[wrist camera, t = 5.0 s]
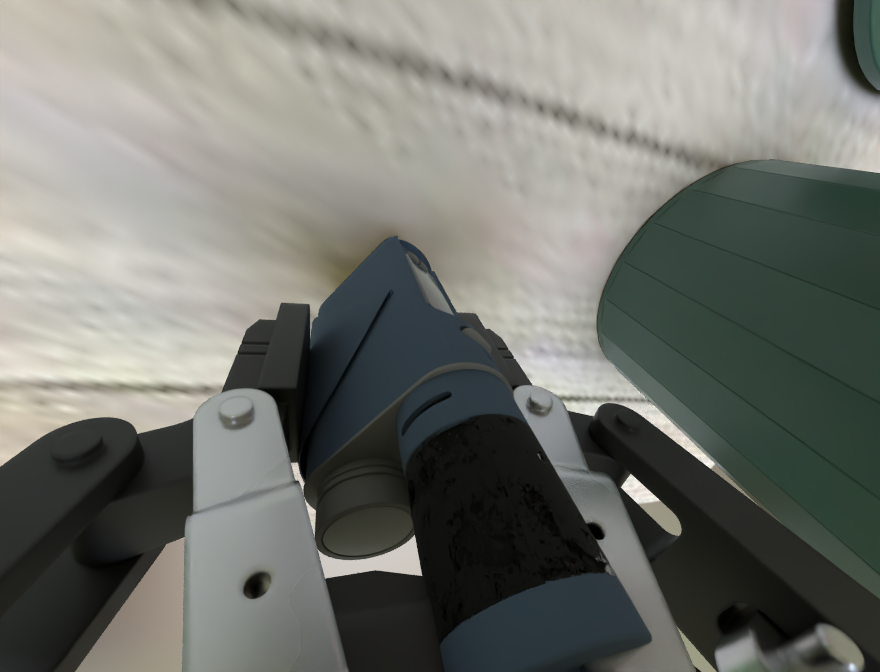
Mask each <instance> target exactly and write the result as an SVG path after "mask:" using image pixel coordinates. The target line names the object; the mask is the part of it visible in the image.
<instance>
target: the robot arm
mask: <svg viewBox="0 0 880 672" xmlns="http://www.w3.org/2000/svg"><path fill="white" fill-rule="evenodd" d="M457 314H458V316H459V317H460V318H461V319H463V320H465V321H466V322H468V323H469V324H470V325H472V326H473V327H474V329H475V330H476V331H477V332H478V333H479V334H480V335H481V336H482V337H483V338H484V339H485V340H486V341H487V343H488V344H489V345H490V347H491V353H490V354H491V356H492V358H493V359H494V361H495V363H496V364H497V366H498V368H499V369H500V371H501V373H502V374H503V376H504V377H505V378H506V379H507V380H508V382H509V384H510V385H511V387H512V390H513V393H514V400H515V401H516V403H517V405H518V407H519V408H520V410H521V412H522V413H523V415H524V417H525V419H526V420H527V422H528V424H529V425H530V427H531V429H532V431H533V432H534V434H535V436H536V438H537V439H538V441H539V443H540V444H541V446H542V448H543V450H544V451H545V453H546V455H547V456H548V458H549V460H550V462H551V463H552V465H553V467H554V468H555V470H556V472H557V474H558V475H559V477H560V479H561V480H562V482H563V484H564V486H565V487H566V489H567V491H568V492H569V494H570V496H571V498H572V499H573V501H574V503H575V504H576V506H577V508H578V510H579V511H580V513H581V515H582V516H583V518H584V521H585V522H586V523H587V525H588V527H589V528H590V530H591V532H592V534H593V535H594V537H595V539H596V540H597V541H596V540H595V539H594V538H593V537H591V538H593V539H592V540H593V541H595V542H598V543H597V544H598V545H599V547H601V549H602V551H603V552H604V554H605V556H606V558H607V559H608V561H609V562H608V563H610V564H611V565H609V564H608V563H606V560H605V559H604V558H605V557H604V558H603V557H602V555H601V553H600V552H602V551H600V552H599V550H598V552H599V554H600V555H599V554H598V555H599V556H598V557H599V558H597V556H595V554H594V556H595V559H596V560H597V561H598V560H599V561H598V563H600V564H599V565H600V567H601V568H602V570H603V572H604V573H606V574H607V572H609V574H610V575H612V572H613V573H616V575H615V574H613V576H614V575H615V577H616V576H617V577H618V579H619V580H620V582H621V583H622V585H623V587H624V588H625V590H626V592H627V594H628V595H629V597H630V599H631V600H632V602H633V604H634V606H635V607H636V609H637V611H638V612H639V614H640V616H641V618H642V619H643V621H644V623H645V625H646V626H647V628H648V630H649V631H650V633H651V636H652V641H651V642H650V643H647V644H644V645H641V646H638V647H634V648H631V649H628V650H625V651H622V652H619V653H615V654H612V655H609V656H606V657H603V658H599V659H596V660H593V661H590V662H587V663H584V664H583V665H582V666H580V667H579V668H580V672H701V671H700V670H698V669H697V668H696V667H695V666H694V665H693V664H692V661H691V659H690V656H689V654H688V652H687V650H686V647H685V645H684V642H683V640H682V638H681V635H680V633H679V631H678V628H679V629H680V630H681V631H682V633H684V635H685V636H686V637H687V638H688V639H689V641H690V642H691V643H692V644H693V645H694V646H695V647H696V649H697V650H698V651H699V652H700V653H701V654H702V655H703V656H704V658H705V659H706V660H707V661H708V662H709V663H710V664H711V665H712V667H713V668H714V669H715V670H716V671H717V672H880V599H879V598H877V597H876V596H875V595H874V594H872V593H871V592H870V591H868V590H867V589H866V588H864V587H863V586H862V585H861V584H859V583H858V582H857V581H855V580H854V579H853V578H851V577H850V576H849V575H848V574H846V573H845V572H844V571H842V570H841V569H840V568H838V567H837V566H836V565H835V564H833V563H832V562H831V561H829V560H828V559H827V558H825V557H824V556H823V555H822V554H820V553H819V552H818V551H816V550H815V549H814V548H812V547H811V546H810V545H809V544H807V543H806V542H805V541H803V540H802V539H801V538H799V537H798V536H797V535H796V534H794V533H793V532H792V531H790V530H789V529H788V528H786V527H785V526H784V525H783V524H781V523H780V522H779V521H777V520H776V519H775V518H773V517H772V516H771V515H770V514H768V513H767V512H766V511H764V510H763V509H762V508H760V507H759V506H758V505H756V504H755V503H754V502H753V501H751V500H750V499H749V498H747V497H746V496H745V495H744V494H742V493H741V492H740V491H738V490H737V489H736V488H734V487H733V486H732V485H731V484H729V483H728V482H727V481H725V480H724V479H723V478H721V477H720V476H719V475H718V474H716V473H715V472H714V471H712V470H711V469H710V468H709V467H707V466H706V465H705V464H703V463H702V462H701V461H699V460H698V459H697V458H696V457H694V456H693V455H692V454H690V453H689V452H688V451H686V450H685V449H684V448H683V447H681V446H680V445H679V444H677V443H676V442H675V441H673V440H672V439H671V438H670V437H668V436H667V435H666V434H664V433H663V432H662V431H660V430H659V429H658V428H657V427H655V426H654V425H653V424H651V423H650V422H649V421H647V420H646V419H645V418H644V417H642V416H641V415H639V414H638V413H637V412H635V411H633V410H631V409H629V408H627V407H625V406H622V405H619V404H614V403H606V404H603V405H601V406H600V407H599V408H598V410H597V412H596V413H595V415H594V417H593V416H589V415H584V414H580V413H575V412H571V411H567V409H566V407H565V405H564V403H563V402H562V401H561V400H560V399H559V398H558V397H557V396H556V395H555V394H553V393H552V392H550V391H548V390H546V389H544V388H541V387H538V386H533V385H532V384H531V382H530V381H529V379H528V378H527V376H526V375H525V373H524V372H523V370H522V368H521V367H520V365H519V364H518V362H517V361H516V359H514V356H513V355H512V353H511V352H510V350H508V347H507V346H506V344H505V343H504V341H503V340H502V338H501V337H499V336H498V335H497V334H495V333H494V332H493V331H492V330H490V329H485V328H484V326H483V325H482V323H481V321H480V320H479V318H478V316H477V315H476V314H474V313H457ZM309 357H310V305H309V304H295V303H281V305H280V308H279V312H278V315H277V319H276V320H258V321H257V322H256V323H254V324H253V325H252V326H251V327H249V328H248V329H247V330H246V333H245V335H244V338H243V340H242V344H241V345H240V347H239V350H238V355H236V357H235V360H234V362H233V365H232V367H231V370H230V372H229V375H228V377H227V380H226V382H225V385H224V387H223V390H222V392H221V393H220V394H217V395H215V396H213V397H212V398H210V399H208V400H207V401H206V402H204V403H203V404H202V405H201V406H200V407H199V408H198V410H197V411H196V413H195V415H194V418H193V419H191V420H188V421H186V422H183V423H180V424H176V425H173V426H169V427H164V428H160V429H156V430H152V431H148V432H144V433H140V434H137V432H136V430H135V428H134V426H133V425H132V424H130V423H129V422H127V421H125V420H122V419H118V418H110V417H106V418H92V419H87V420H82V421H78V422H75V423H71V424H69V425H66V426H63V427H61V428H58V429H56V430H54V431H52V432H50V433H48V434H46V435H44V436H43V437H41V438H40V439H38V440H37V441H35V442H34V443H32V444H31V445H30V446H28V447H27V448H26V449H24V450H23V451H21V452H20V453H19V454H17V455H16V456H15V457H13V458H12V459H11V460H9V461H8V462H6V463H5V464H4V465H2V466H1V467H0V672H75V671H76V669H77V668H78V667H79V665H80V664H81V662H82V661H83V660H84V658H85V657H86V656H87V654H88V653H89V651H90V650H91V649H92V647H93V646H94V644H95V643H96V641H97V640H98V639H99V637H100V636H101V635H102V633H103V632H104V630H105V629H106V628H107V626H108V625H109V624H110V622H111V621H112V619H113V618H114V617H115V615H116V614H117V612H118V611H119V610H120V608H121V607H122V606H123V604H124V603H125V601H126V600H127V599H128V597H129V596H130V594H131V593H132V592H133V590H134V589H135V588H136V586H137V585H138V583H139V582H140V581H141V579H142V578H143V576H144V575H145V574H146V572H147V571H148V569H149V568H150V567H151V565H152V564H153V563H154V561H155V560H156V558H157V557H158V556H159V554H160V553H161V551H162V550H163V549H164V547H165V545H166V544H167V543H170V542H173V541H175V540H178V539H181V538H183V537H185V545H184V601H183V606H184V607H183V655H182V659H183V660H182V672H444V667H443V661H442V656H441V651H440V644H439V640H438V635H437V634H438V633H439V631H438V632H437V630H436V624H435V619H434V614H433V610H434V608H433V610H432V605H433V604H432V605H431V602H432V601H430V598H431V600H432V595H431V597H429V596H428V594H427V589H426V585H427V584H425V578H424V576H417V575H408V574H401V573H392V572H384V571H376V570H375V571H369V572H363V573H357V574H351V575H345V576H338V577H332V578H326V579H325V577H324V573H323V569H322V565H321V561H320V557H319V553H318V549H317V546H316V542H315V538H314V534H313V530H312V526H311V522H310V518H309V514H308V510H307V506H306V503H305V499H304V495H303V491H302V488H301V485H300V483H299V481H298V480H297V481H296V480H295V478H294V474H293V470H292V466H291V463H294V462H298V459H299V450H300V440H301V430H302V421H303V411H304V401H305V392H306V383H307V374H308V365H309ZM516 449H517V448H516ZM516 452H517V450H516ZM527 453H528V452H527ZM537 455H538V456H539V454H537ZM539 457H540V456H539ZM525 459H526V458H525ZM540 459H541V458H540ZM526 460H527V459H526ZM544 465H546V464H544ZM517 471H518V470H517ZM630 474H632V475H633V476H634V477H635V478H636V479H637V480H638V481H640V482H641V483H642V484H643V485H644V486H645V487H646V488H647V489H648V490H649V491H651V492H652V493H653V494H654V495H655V496H656V497H657V498H658V499H659V500H660V501H661V502H663V503H664V504H665V505H666V506H667V507H668V508H669V509H670V510H671V511H672V512H673V513H674V514H675V515H676V516H677V518H678V519H679V521H680V524H681V528H682V532H681V535H680V536H675V535H672V534H670V533H668V532H667V531H665V530H664V529H663V528H662V527H661V526H660V525H659V524H658V523H657V522H656V521H655V520H654V519H652V517H650V516H649V515H648V514H647V513H646V512H645V511H644V510H643V509H642V508H641V507H640V506H639V505H638V504H637V503H636V502H635V501H634V500H633V499H632V498H631V497H630V496H629V495H628V494H627V493H626V492H625V491H624V490H623V489H622V488H621V486H622V485H623V483H624V482H625V481H626V479H627V478H628V477H629V475H630ZM552 475H553V474H552ZM519 479H520V477H519ZM520 485H521V484H520ZM525 485H526V487H528V488H529V486H530V485H529V484H525ZM538 486H539V485H538ZM540 486H541V485H540ZM522 487H523V486H522ZM531 487H532V485H531ZM550 487H551V486H550ZM534 488H535V487H533V488H532V490H531V489H530V490H531V492H532V493H533V492H534V491H535V490H534ZM541 488H542V486H541ZM559 489H560V488H559ZM533 490H534V491H533ZM538 490H539V489H538ZM524 491H525V490H524ZM540 491H542V490H541V489H540ZM538 492H539V491H538ZM546 492H547V491H546ZM524 494H525V493H524ZM530 494H531V493H530ZM560 495H561V494H560ZM542 496H543V495H542ZM568 501H569V500H568ZM533 502H534V501H533ZM565 502H566V501H565ZM535 503H536V502H535ZM532 504H534V503H532ZM566 504H567V503H566ZM567 505H568V504H567ZM535 506H536V505H535ZM535 506H533V508H534V507H535ZM536 507H537V506H536ZM547 507H548V506H547ZM542 508H544V507H543V506H542ZM545 508H546V507H545ZM539 509H540V508H539ZM546 509H547V508H546ZM549 509H550V508H549ZM532 510H534V509H532ZM543 510H544V509H543ZM539 511H541V509H540V510H539ZM548 512H549V511H548ZM538 514H539V513H538ZM545 515H546V514H545ZM549 515H550V512H549ZM551 515H553V513H552V512H551ZM577 516H580V515H577ZM548 517H549V516H548V515H546V517H544V518H546V519H547V520H550V519H549V518H548ZM552 518H553V517H552ZM581 519H582V518H581ZM538 520H539V519H538ZM553 520H554V518H553ZM550 521H552V520H550ZM554 521H555V520H554ZM560 522H561V521H560ZM586 523H585V524H586ZM541 524H542V522H541ZM543 524H545V523H544V522H543ZM554 524H555V522H554ZM545 525H546V524H545ZM567 530H568V529H567ZM581 530H582V531H583V532H584V533H586V534H585V537H586V536H588V535H589V533H588V532H585V531H584V530H585V529H584V530H583V529H581ZM533 531H535V530H534V529H533ZM553 531H554V530H553ZM587 534H588V535H587ZM548 535H549V534H548ZM552 535H553V534H552ZM553 536H554V535H553ZM555 536H556V535H555ZM590 536H591V535H590ZM570 538H571V537H570ZM536 539H537V538H536ZM572 539H573V538H572ZM586 539H587V537H586ZM575 540H576V539H575ZM587 540H588V539H587ZM589 541H590V540H589ZM540 542H541V541H540ZM564 542H565V541H564ZM591 542H592V541H591ZM541 543H542V542H541ZM574 543H575V542H574ZM575 544H576V543H575ZM582 544H584V543H582ZM590 544H591V543H590ZM567 545H568V541H567ZM567 545H566V546H567ZM588 545H589V544H588ZM560 546H561V545H560ZM569 546H570V547H571V545H570V544H569V545H568V548H569ZM572 546H573V545H572ZM592 546H593V545H592ZM595 546H596V547H597V545H595ZM579 547H580V546H579ZM585 547H586V546H585ZM589 547H590V545H589ZM575 548H576V547H575ZM575 548H574V547H573V549H575ZM577 548H578V546H577ZM593 548H594V547H593ZM557 549H558V550H559V547H558V548H557ZM590 549H592V548H590ZM597 549H598V547H597ZM599 549H600V548H599ZM570 550H571V549H570ZM583 551H584V550H583ZM595 551H596V550H595ZM581 553H582V551H581V552H579V556H580V554H581ZM582 554H583V553H582ZM582 554H581V555H582ZM565 556H566V555H565ZM547 557H548V556H547ZM601 557H602V558H603V559H602V558H601ZM580 558H582V557H581V556H580ZM545 559H546V558H545ZM566 559H567V558H566ZM569 559H570V558H569ZM573 559H574V558H573ZM600 559H601V560H600ZM546 560H547V559H546ZM551 560H552V559H550V558H549V561H551ZM561 560H562V559H561ZM575 560H576V558H575ZM581 560H582V559H581ZM584 560H585V559H584ZM588 560H589V559H588ZM549 561H548V562H549ZM582 561H583V560H582ZM548 562H547V564H548ZM564 562H565V563H566V561H564ZM571 562H572V561H571ZM571 562H570V563H571ZM583 562H584V561H583ZM592 562H593V561H592ZM584 563H585V562H584ZM572 564H573V565H574V564H575V563H574V561H573V562H572ZM585 564H586V563H585ZM566 565H567V567H568V568H569V566H568V565H569V564H568V562H567V563H566ZM594 565H595V564H594ZM554 566H555V565H554ZM582 566H583V565H582ZM608 566H609V567H608ZM610 566H611V567H612V568H611V567H610ZM565 567H566V566H565ZM595 567H596V566H595ZM550 569H551V571H554V568H550ZM562 569H563V568H562ZM573 569H574V568H573ZM584 569H585V566H584ZM584 569H583V570H584ZM610 569H612V570H610ZM555 570H556V569H555ZM563 570H564V569H563ZM591 570H592V569H591ZM568 571H569V572H570V570H569V569H568ZM611 571H612V572H611ZM614 571H615V572H614ZM576 572H577V571H576ZM579 572H582V573H586V572H585V570H584V571H582V570H581V568H580V570H579ZM592 572H593V571H592ZM556 573H557V571H556ZM560 573H561V572H560ZM571 573H572V572H571ZM551 574H552V573H551ZM573 574H574V572H573ZM577 574H578V573H577ZM557 575H558V574H557ZM571 575H572V574H571ZM559 578H560V577H559ZM431 580H433V579H432V577H431ZM432 584H434V582H432ZM429 587H432V585H431V586H430V585H429ZM434 587H435V584H434ZM432 588H433V587H432ZM435 590H436V588H435ZM435 590H434V589H433V591H434V593H435ZM430 593H431V591H430ZM430 593H429V594H430ZM452 593H453V592H452ZM435 596H436V593H435ZM435 596H434V597H435ZM438 597H439V596H438ZM438 597H437V599H438ZM437 599H436V600H437ZM436 600H435V601H436ZM460 603H461V602H460ZM442 604H443V602H442ZM445 606H446V604H445ZM461 606H462V603H461ZM443 608H444V605H443ZM443 608H442V606H441V607H440V610H441V609H443ZM443 610H444V611H443V612H444V613H443V615H444V616H443V615H442V616H441V617H442V618H444V620H445V622H446V619H445V617H447V616H445V615H447V614H446V609H443ZM457 610H458V609H457ZM459 611H460V607H459ZM440 612H441V611H440ZM448 621H449V619H448V620H447V622H448ZM449 623H450V622H449ZM447 624H448V623H447ZM444 626H445V624H444ZM444 626H443V629H444ZM437 627H438V625H437ZM677 627H678V628H677ZM449 628H450V626H449ZM446 630H447V628H446ZM446 630H445V632H446ZM446 634H448V633H447V632H446ZM442 635H443V632H442ZM440 636H441V635H440ZM444 636H445V635H444ZM444 636H441V637H442V638H443V637H444ZM444 638H445V637H444ZM444 638H443V639H444ZM440 641H441V640H440ZM440 643H441V642H440Z"/></svg>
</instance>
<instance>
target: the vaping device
mask: <svg viewBox="0 0 880 672" xmlns="http://www.w3.org/2000/svg"><path fill="white" fill-rule="evenodd" d="M490 353H491V347H490V345H489V344H488V343H487V341H486V340H485V339H484V338H483V337H482V336H481V335H480V334H479V333H478V332H477V331H476V330H475V329H474V327H473V326H472V325H470V324H469V323H468V322H466V321H465V320H463V319H461V318H460V317H459V316H458V314H457V312H456V310H455V308H454V307H453V305H452V303H451V301H450V299H449V298H448V296H447V294H446V292H445V290H444V288H443V287H442V285H441V283H440V281H439V279H438V278H437V276H436V274H435V272H434V271H431V267H430V265H429V263H428V261H427V259H426V257H425V256H424V255H423V254H422V252H421V251H420V250H419V249H417V248H416V247H415V246H413V245H412V244H410V243H408V242H406V241H403V240H399V239H398V237H397V236H393V237H390V238H388V239H386V240H384V241H383V242H382V243H381V244H380V245H379V246H378V247H377V248H376V249H375V250H374V251H373V252H372V253H371V254H370V255H369V256H368V257H367V258H366V259H365V260H364V261H363V262H362V263H361V264H360V265H359V266H358V268H357V269H356V270H355V271H354V272H353V273H352V274H351V275H350V276H349V277H348V278H347V279H346V280H345V281H344V282H343V283H342V284H341V285H340V286H339V287H338V288H337V289H336V290H335V291H334V292H333V293H332V294H331V295H330V296H329V297H328V298H327V299H326V300H325V301H324V302H323V304H322V305H321V307H320V309H319V313H318V317H316V318H315V319H314V320H313V322H312V329H311V338H310V357H309V365H308V374H307V383H306V392H305V401H304V411H303V421H302V430H301V440H300V450H299V459H298V465H299V470H300V474H301V477H302V479H303V481H304V483H305V484H304V490H303V491H304V497H305V499H306V501H307V503H308V504H309V505H310V506H311V507H312V508H314V509H315V510H316V522H315V542H316V546H317V549H318V550H319V551H320V552H322V553H323V554H324V555H326V556H328V557H332V558H335V559H342V560H358V559H366V558H371V557H375V556H379V555H382V554H385V553H387V552H390V551H392V550H394V549H396V548H398V547H400V546H402V545H403V544H405V543H406V542H407V541H409V540H410V539H411V538H412V537H413V536H414V535H415V538H416V543H417V548H418V554H419V560H420V565H421V571H422V576H424V578H425V584H427V585H426V589H427V594H428V596H429V597H431V595H432V600H431V598H430V601H432V602H431V605H432V604H433V605H432V610H433V608H434V610H433V614H434V619H435V624H436V630H437V632H438V631H439V633H438V634H437V635H438V640H439V644H440V651H441V656H442V661H443V667H444V672H580V668H579V667H580V666H582V665H583V664H584V663H587V662H590V661H593V660H596V659H599V658H603V657H606V656H609V655H612V654H615V653H619V652H622V651H625V650H628V649H631V648H634V647H638V646H641V645H644V644H647V643H650V642H651V641H652V636H651V633H650V631H649V630H648V628H647V626H646V625H645V623H644V621H643V619H642V618H641V616H640V614H639V612H638V611H637V609H636V607H635V606H634V604H633V602H632V600H631V599H630V597H629V595H628V594H627V592H626V590H625V588H624V587H623V585H622V583H621V582H620V580H619V579H618V577H617V576H616V577H615V575H616V573H613V572H612V571H611V572H612V575H610V574H609V572H607V574H606V573H604V572H603V570H602V568H601V567H600V565H599V564H600V563H598V561H599V560H598V561H597V560H596V559H595V556H597V558H599V557H598V556H599V555H600V554H599V552H600V551H602V549H601V547H599V545H598V544H597V543H598V542H595V541H593V540H592V539H593V538H594V539H595V537H594V535H593V534H592V532H591V530H590V528H589V527H588V525H587V523H586V522H585V521H584V518H583V516H582V515H581V513H580V511H579V510H578V508H577V506H576V504H575V503H574V501H573V499H572V498H571V496H570V494H569V492H568V491H567V489H566V487H565V486H564V484H563V482H562V480H561V479H560V477H559V475H558V474H557V472H556V470H555V468H554V467H553V465H552V463H551V462H550V460H549V458H548V456H547V455H546V453H545V451H544V450H543V448H542V446H541V444H540V443H539V441H538V439H537V438H536V436H535V434H534V432H533V431H532V429H531V427H530V425H529V424H528V422H527V420H526V419H525V417H524V415H523V413H522V412H521V410H520V408H519V407H518V405H517V403H516V401H515V400H514V393H513V390H512V387H511V385H510V384H509V382H508V380H507V379H506V378H505V377H504V376H503V374H502V373H501V371H500V369H499V368H498V366H497V364H496V363H495V361H494V359H493V358H492V356H491V354H490ZM516 448H517V449H516ZM516 450H517V452H516ZM527 452H528V453H527ZM537 454H539V456H540V457H539V456H538V455H537ZM525 458H526V459H527V460H526V459H525ZM540 458H541V459H540ZM544 464H546V465H544ZM517 470H518V471H517ZM552 474H553V475H552ZM519 477H520V479H519ZM520 484H521V485H520ZM525 484H529V485H530V486H529V488H528V487H526V485H525ZM531 485H532V487H531ZM538 485H539V486H538ZM540 485H541V486H542V488H541V486H540ZM522 486H523V487H522ZM550 486H551V487H550ZM533 487H535V488H534V490H535V491H534V490H533V491H534V492H533V493H532V492H531V490H532V488H533ZM559 488H560V489H559ZM530 489H531V490H530ZM538 489H539V490H538ZM540 489H541V490H542V491H540ZM524 490H525V491H524ZM538 491H539V492H538ZM546 491H547V492H546ZM524 493H525V494H524ZM530 493H531V494H530ZM560 494H561V495H560ZM542 495H543V496H542ZM568 500H569V501H568ZM533 501H534V502H533ZM565 501H566V502H565ZM535 502H536V503H535ZM532 503H534V504H532ZM566 503H567V504H568V505H567V504H566ZM535 505H536V506H537V507H536V506H535ZM533 506H535V507H534V508H533ZM542 506H543V507H544V508H542ZM547 506H548V507H547ZM545 507H546V508H547V509H546V508H545ZM539 508H540V509H541V511H539V510H540V509H539ZM549 508H550V509H549ZM532 509H534V510H532ZM543 509H544V510H543ZM548 511H549V512H550V515H549V512H548ZM551 512H552V513H553V515H551ZM538 513H539V514H538ZM545 514H546V515H548V516H549V517H548V518H549V519H550V520H552V521H550V520H547V519H546V518H544V517H546V515H545ZM577 515H580V516H577ZM552 517H553V518H554V520H555V521H554V520H553V518H552ZM581 518H582V519H581ZM538 519H539V520H538ZM560 521H561V522H560ZM541 522H542V524H541ZM543 522H544V523H545V524H546V525H545V524H543ZM554 522H555V524H554ZM585 523H586V524H585ZM533 529H534V530H535V531H533ZM567 529H568V530H567ZM581 529H583V530H584V529H585V530H584V531H585V532H588V533H589V535H588V534H587V535H588V536H586V537H587V539H588V540H587V539H586V537H585V534H586V533H584V532H583V531H582V530H581ZM553 530H554V531H553ZM548 534H549V535H548ZM552 534H553V535H554V536H553V535H552ZM555 535H556V536H555ZM590 535H591V536H590ZM570 537H571V538H570ZM591 537H593V538H591ZM536 538H537V539H536ZM572 538H573V539H572ZM575 539H576V540H575ZM589 540H590V541H589ZM595 540H596V539H595ZM540 541H541V542H542V543H541V542H540ZM564 541H565V542H564ZM567 541H568V545H569V544H570V545H571V547H570V546H569V548H568V545H567ZM591 541H592V542H591ZM596 541H597V540H596ZM574 542H575V543H576V544H575V543H574ZM582 543H584V544H582ZM590 543H591V544H590ZM588 544H589V545H590V547H589V545H588ZM560 545H561V546H560ZM566 545H567V546H566ZM572 545H573V546H572ZM592 545H593V546H592ZM595 545H597V547H598V549H597V547H596V546H595ZM577 546H578V548H577ZM579 546H580V547H579ZM585 546H586V547H585ZM558 547H559V550H558V549H557V548H558ZM573 547H574V548H575V547H576V548H575V549H573ZM593 547H594V548H593ZM590 548H592V549H590ZM599 548H600V549H599ZM570 549H571V550H570ZM583 550H584V551H583ZM595 550H596V551H595ZM598 550H599V552H598ZM581 551H582V553H583V554H582V553H581V554H582V555H581V554H580V556H581V557H582V558H580V556H579V552H581ZM600 553H601V555H602V557H603V558H604V557H605V558H604V559H605V560H606V563H608V562H609V561H608V559H607V558H606V556H605V554H604V552H603V551H602V552H600ZM594 554H595V556H594ZM598 554H599V555H598ZM565 555H566V556H565ZM547 556H548V557H547ZM602 557H601V558H602ZM545 558H546V559H547V560H546V559H545ZM549 558H550V559H552V560H551V561H549ZM566 558H567V559H566ZM569 558H570V559H569ZM573 558H574V559H573ZM575 558H576V560H575ZM603 558H602V559H603ZM561 559H562V560H561ZM581 559H582V560H583V561H584V562H585V563H586V564H585V563H584V562H583V561H582V560H581ZM584 559H585V560H584ZM588 559H589V560H588ZM600 560H601V559H600ZM548 561H549V562H548ZM564 561H566V563H567V562H568V564H569V565H568V566H569V568H568V567H567V565H566V563H565V562H564ZM571 561H572V562H573V561H574V563H575V564H574V565H573V564H572V562H571ZM592 561H593V562H592ZM547 562H548V564H547ZM570 562H571V563H570ZM594 564H595V565H594ZM608 564H609V565H611V564H610V563H608ZM554 565H555V566H554ZM582 565H583V566H582ZM565 566H566V567H565ZM584 566H585V569H584ZM595 566H596V567H595ZM608 567H609V566H608ZM610 567H611V566H610ZM550 568H554V571H551V569H550ZM562 568H563V569H564V570H563V569H562ZM573 568H574V569H573ZM580 568H581V570H582V571H584V570H585V572H586V573H582V572H579V570H580ZM611 568H612V567H611ZM555 569H556V570H555ZM568 569H569V570H570V572H569V571H568ZM583 569H584V570H583ZM591 569H592V570H591ZM610 570H612V569H610ZM556 571H557V573H556ZM576 571H577V572H576ZM592 571H593V572H592ZM560 572H561V573H560ZM571 572H572V573H571ZM573 572H574V574H573ZM614 572H615V571H614ZM551 573H552V574H551ZM577 573H578V574H577ZM557 574H558V575H557ZM571 574H572V575H571ZM613 574H615V575H614V576H613ZM431 577H432V579H433V580H431ZM559 577H560V578H559ZM432 582H434V584H435V587H434V584H432ZM429 585H430V586H431V585H432V587H433V588H432V587H429ZM435 588H436V590H435ZM433 589H434V590H435V593H436V596H435V593H434V591H433ZM430 591H431V593H430ZM452 592H453V593H452ZM429 593H430V594H429ZM434 596H435V597H434ZM438 596H439V597H438ZM437 597H438V599H437ZM436 599H437V600H436ZM435 600H436V601H435ZM442 602H443V604H442ZM460 602H461V603H462V606H461V603H460ZM445 604H446V606H445ZM443 605H444V608H443ZM441 606H442V608H443V609H446V614H447V615H445V616H447V617H445V619H446V622H445V620H444V618H442V617H441V616H442V615H443V613H444V612H443V611H444V610H443V609H441V610H440V607H441ZM459 607H460V611H459ZM457 609H458V610H457ZM440 611H441V612H440ZM443 616H444V615H443ZM448 619H449V621H448V622H447V620H448ZM449 622H450V623H449ZM447 623H448V624H447ZM444 624H445V626H444ZM437 625H438V627H437ZM443 626H444V629H443ZM449 626H450V628H449ZM446 628H447V630H446ZM445 630H446V632H447V633H448V634H446V632H445ZM442 632H443V635H442ZM440 635H441V636H444V635H445V636H444V637H445V638H444V637H443V638H444V639H443V638H442V637H441V636H440ZM440 640H441V641H440ZM440 642H441V643H440Z"/></svg>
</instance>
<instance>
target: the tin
mask: <svg viewBox="0 0 880 672" xmlns="http://www.w3.org/2000/svg"><path fill="white" fill-rule="evenodd" d="M597 331H598V337H599V342H600V345H601V348H602V351H603V352H604V354H605V356H606V357H607V359H608V360H609V361H610V362H611V363H612V364H613V365H614V366H615V367H616V368H617V370H618V371H619V372H620V373H621V374H622V375H623V376H624V377H625V378H626V379H627V380H628V381H630V382H631V383H632V384H633V385H634V386H635V387H636V388H637V389H638V390H639V391H640V392H641V393H642V394H643V395H644V396H645V397H646V398H647V399H648V400H649V401H650V402H651V403H652V404H653V405H654V406H656V407H657V408H658V409H659V410H660V411H661V412H662V413H663V414H664V415H665V416H666V417H667V418H668V419H669V420H670V421H671V422H672V423H673V424H674V425H675V426H676V427H677V428H678V429H679V430H680V431H682V432H683V433H684V434H685V435H686V436H687V437H688V438H689V439H690V440H691V441H692V442H693V443H694V444H695V445H696V446H697V447H698V448H699V449H700V450H701V451H702V452H703V453H704V454H705V455H707V456H708V457H709V458H710V459H711V460H712V461H713V462H714V463H715V464H716V465H717V466H718V467H719V468H720V469H721V470H722V471H723V472H724V473H725V474H726V475H728V477H729V478H730V479H731V480H733V481H734V482H735V483H736V484H737V485H738V486H739V487H740V488H741V489H742V490H743V491H744V492H745V493H746V494H747V495H748V496H749V497H750V498H751V499H752V500H753V501H754V502H756V503H757V505H759V506H760V507H761V508H762V509H763V510H764V511H766V512H767V513H768V514H770V515H771V516H772V517H773V518H775V519H776V520H777V521H779V522H780V523H781V524H783V525H784V526H785V527H786V528H788V529H789V530H790V531H792V532H793V533H794V534H796V535H797V536H798V537H799V538H801V539H802V540H803V541H805V542H806V543H807V544H809V545H810V546H811V547H812V548H814V549H815V550H816V551H818V552H819V553H820V554H822V555H823V556H824V557H825V558H827V559H828V560H829V561H831V562H832V563H833V564H835V565H836V566H837V567H838V568H840V569H841V570H842V571H844V572H845V573H846V574H848V575H849V576H850V577H851V578H853V579H854V580H855V581H857V582H858V583H859V584H861V585H862V586H863V587H864V588H866V589H867V590H868V591H870V592H871V593H872V594H874V595H875V596H876V597H877V598H879V599H880V173H874V172H867V171H859V170H851V169H843V168H835V167H828V166H820V165H812V164H804V163H797V162H789V161H781V160H772V159H771V160H758V161H748V162H743V163H739V164H734V165H732V166H729V167H726V168H723V169H721V170H718V171H716V172H714V173H712V174H710V175H708V176H706V177H704V178H702V179H700V180H698V181H697V182H695V183H694V184H692V185H690V186H689V187H687V188H686V189H684V190H683V191H682V192H680V193H679V194H678V195H676V196H675V197H674V198H672V199H671V200H670V201H669V202H667V203H666V204H665V205H664V206H663V207H662V208H661V209H660V210H659V211H658V212H657V213H655V214H654V215H653V216H652V217H651V218H650V220H649V221H648V222H647V223H646V224H645V225H644V226H643V227H642V228H641V229H640V230H639V232H638V233H637V234H636V236H635V237H634V238H633V239H632V241H631V242H630V243H629V245H628V246H627V247H626V249H625V251H624V252H623V254H622V255H621V257H620V258H619V260H618V261H617V263H616V265H615V267H614V269H613V271H612V273H611V275H610V277H609V279H608V282H607V284H606V286H605V289H604V291H603V295H602V298H601V302H600V306H599V312H598V319H597Z"/></svg>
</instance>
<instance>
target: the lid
mask: <svg viewBox="0 0 880 672" xmlns="http://www.w3.org/2000/svg"><path fill="white" fill-rule="evenodd" d="M853 29H854V42H855V49H856V53H857V57H858V61H859V65H860V67H861V69H862V71H863V73H864V75H865V77H866V78H867V80H868V81H869V82H870V83H871V84H872V85H873V86H874V87H875V88H876V89H878V90H879V91H880V0H854V18H853Z"/></svg>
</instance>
